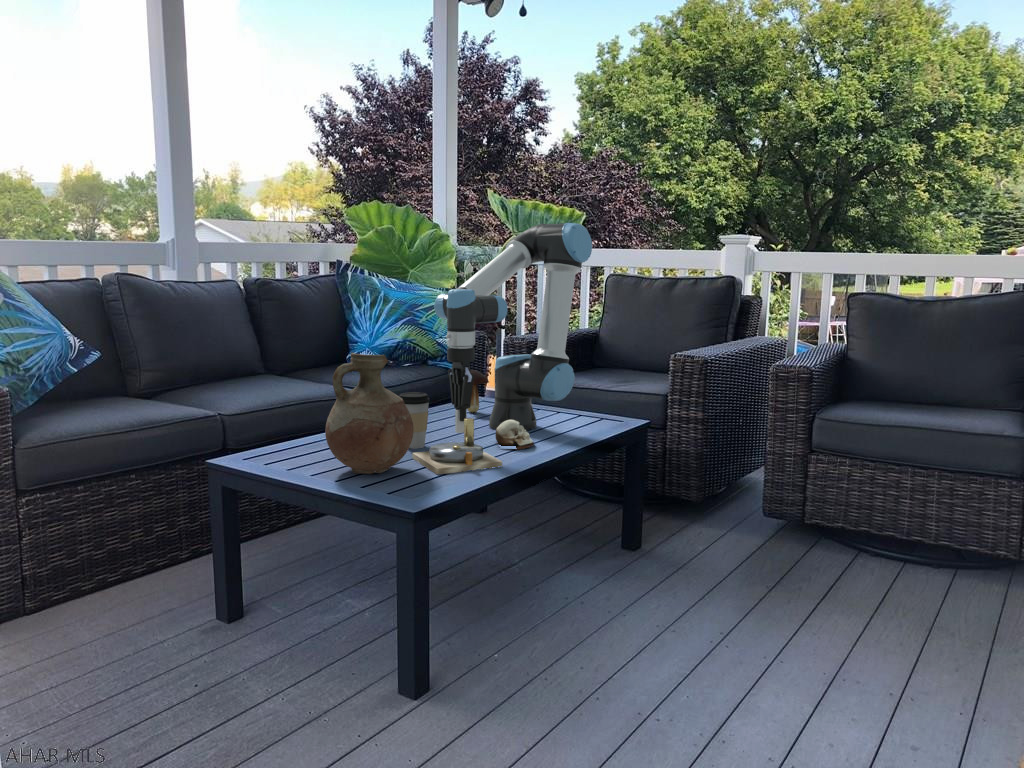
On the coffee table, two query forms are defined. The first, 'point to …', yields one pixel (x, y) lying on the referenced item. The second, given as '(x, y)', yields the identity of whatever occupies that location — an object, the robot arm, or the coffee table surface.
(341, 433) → the jug
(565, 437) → the coffee table surface
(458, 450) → the turntable
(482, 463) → the base plate
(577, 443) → the coffee table surface
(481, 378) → the decorative mushroom
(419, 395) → the coffee cup
